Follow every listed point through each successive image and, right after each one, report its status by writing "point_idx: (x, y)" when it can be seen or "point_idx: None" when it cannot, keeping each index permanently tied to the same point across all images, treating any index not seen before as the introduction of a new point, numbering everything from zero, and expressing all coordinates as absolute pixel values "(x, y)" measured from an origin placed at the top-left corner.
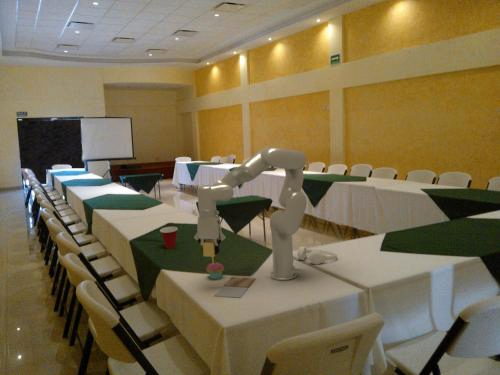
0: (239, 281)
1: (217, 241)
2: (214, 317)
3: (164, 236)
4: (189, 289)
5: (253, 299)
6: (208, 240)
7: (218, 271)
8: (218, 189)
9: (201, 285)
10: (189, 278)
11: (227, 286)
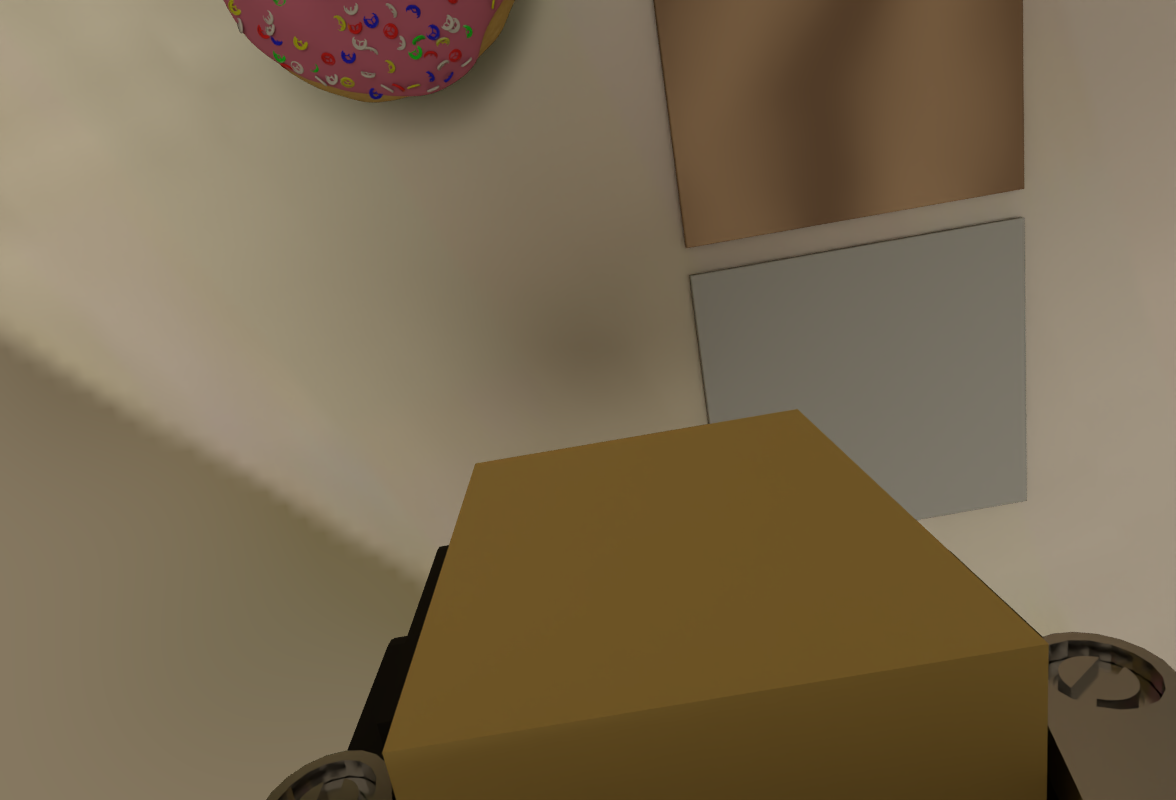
0: (831, 40)
1: (1129, 794)
2: None
3: None
4: (348, 488)
5: (1162, 476)
6: (526, 789)
7: (498, 33)
8: None
9: (402, 330)
10: (65, 158)
11: (753, 269)
